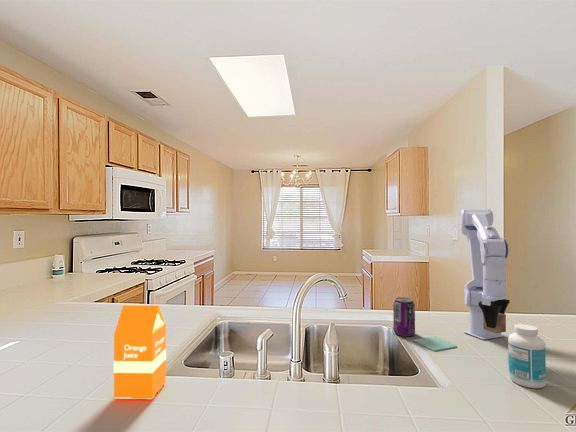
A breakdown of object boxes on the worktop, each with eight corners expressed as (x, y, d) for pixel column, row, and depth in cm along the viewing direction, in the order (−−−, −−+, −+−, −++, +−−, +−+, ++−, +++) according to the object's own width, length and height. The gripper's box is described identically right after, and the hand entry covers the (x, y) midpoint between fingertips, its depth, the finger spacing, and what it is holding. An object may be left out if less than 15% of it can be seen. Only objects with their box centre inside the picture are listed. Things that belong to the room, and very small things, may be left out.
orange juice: (130, 382, 81) (131, 301, 82) (166, 383, 81) (166, 301, 81) (113, 400, 74) (113, 310, 74) (152, 400, 73) (152, 310, 73)
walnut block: (493, 327, 100) (493, 310, 100) (505, 331, 97) (505, 314, 97) (483, 328, 99) (483, 312, 99) (495, 333, 95) (495, 315, 95)
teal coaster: (435, 337, 111) (435, 336, 111) (457, 347, 103) (457, 346, 103) (413, 340, 108) (413, 339, 108) (433, 351, 100) (433, 349, 100)
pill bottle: (539, 377, 83) (538, 323, 83) (551, 392, 76) (551, 333, 76) (504, 373, 86) (504, 320, 86) (513, 386, 79) (513, 330, 79)
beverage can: (416, 338, 111) (416, 302, 111) (394, 336, 112) (394, 301, 112) (413, 331, 118) (413, 297, 118) (392, 329, 119) (392, 296, 119)
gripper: (487, 274, 106) (487, 317, 106) (470, 280, 96) (470, 327, 96) (513, 277, 100) (513, 322, 100) (497, 284, 91) (498, 333, 91)
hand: (494, 325), depth 98 cm, fingers closed on walnut block, 5 cm apart
